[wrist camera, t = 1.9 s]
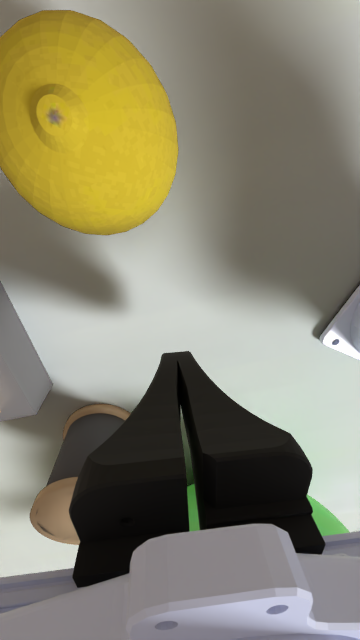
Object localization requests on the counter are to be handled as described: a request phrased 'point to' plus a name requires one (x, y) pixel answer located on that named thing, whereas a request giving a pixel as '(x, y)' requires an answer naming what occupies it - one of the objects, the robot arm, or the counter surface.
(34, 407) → the breaker strip
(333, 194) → the counter surface
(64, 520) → the cord spool
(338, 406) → the counter surface
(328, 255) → the counter surface
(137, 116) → the lemon
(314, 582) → the robot arm
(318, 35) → the counter surface
